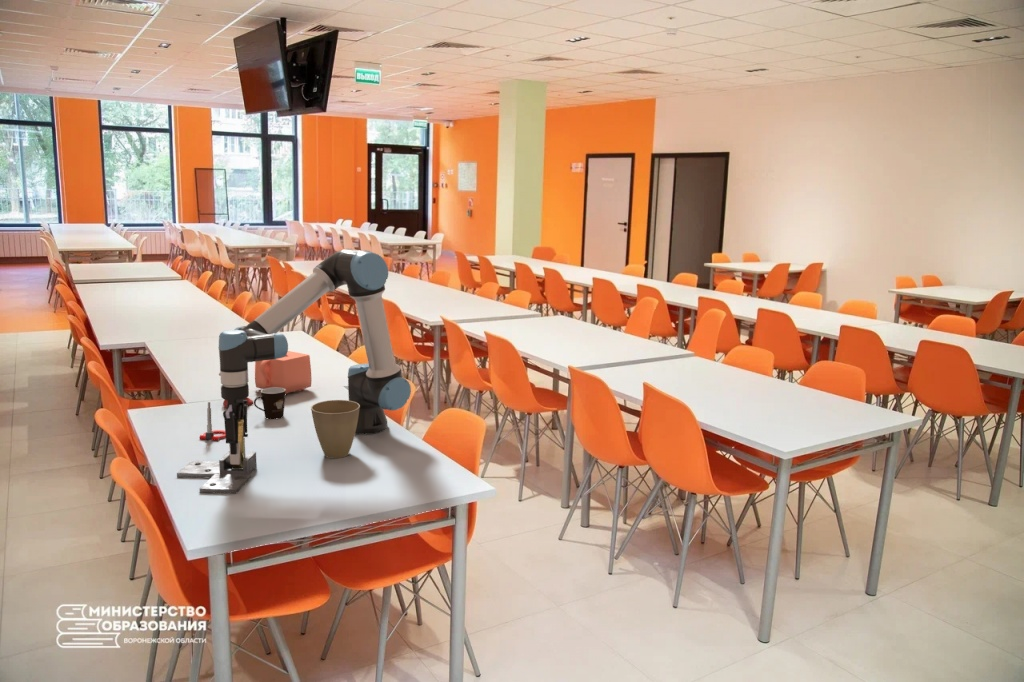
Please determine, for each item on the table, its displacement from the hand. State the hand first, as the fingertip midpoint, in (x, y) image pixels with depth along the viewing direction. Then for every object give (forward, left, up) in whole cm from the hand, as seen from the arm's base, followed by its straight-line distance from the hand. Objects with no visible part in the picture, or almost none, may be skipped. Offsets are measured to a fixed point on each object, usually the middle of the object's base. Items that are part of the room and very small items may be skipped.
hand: (237, 461), depth 222 cm
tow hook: (+19, -32, -4) cm, 37 cm away
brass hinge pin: (0, 0, -2) cm, 2 cm away
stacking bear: (+26, -71, -4) cm, 76 cm away
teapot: (+17, -94, -4) cm, 96 cm away
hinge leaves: (+5, +5, -3) cm, 8 cm away
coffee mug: (+8, -55, -4) cm, 56 cm away
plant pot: (-25, -17, -4) cm, 30 cm away
